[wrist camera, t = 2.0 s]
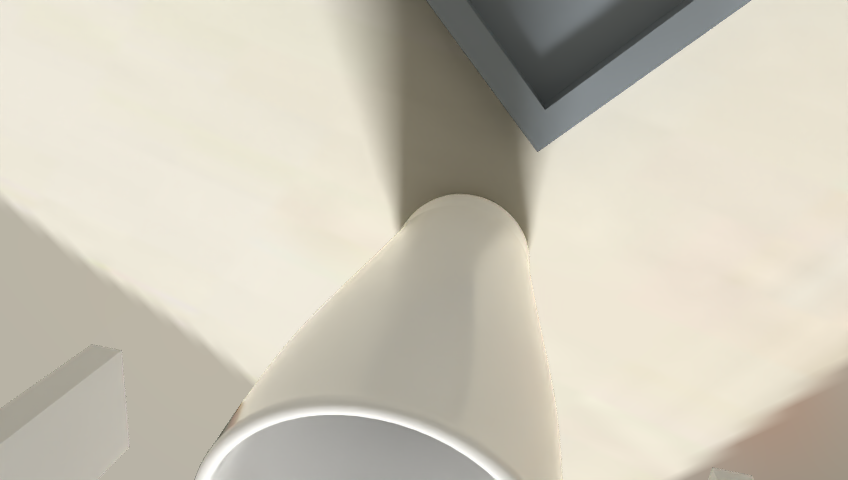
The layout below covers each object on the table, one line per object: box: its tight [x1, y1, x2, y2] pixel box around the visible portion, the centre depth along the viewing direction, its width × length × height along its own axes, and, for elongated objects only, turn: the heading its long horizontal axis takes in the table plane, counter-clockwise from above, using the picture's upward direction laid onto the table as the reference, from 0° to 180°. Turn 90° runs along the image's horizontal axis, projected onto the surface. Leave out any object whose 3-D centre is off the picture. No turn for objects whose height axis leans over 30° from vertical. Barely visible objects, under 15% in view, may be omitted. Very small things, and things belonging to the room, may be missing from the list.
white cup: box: [194, 194, 563, 480], centre depth 17 cm, size 7×7×15 cm
